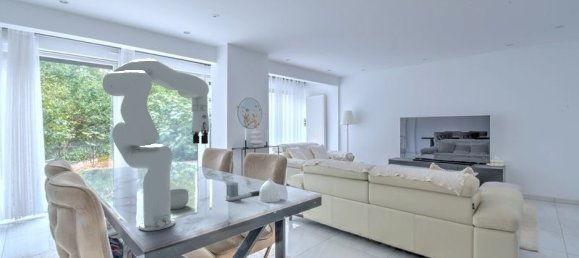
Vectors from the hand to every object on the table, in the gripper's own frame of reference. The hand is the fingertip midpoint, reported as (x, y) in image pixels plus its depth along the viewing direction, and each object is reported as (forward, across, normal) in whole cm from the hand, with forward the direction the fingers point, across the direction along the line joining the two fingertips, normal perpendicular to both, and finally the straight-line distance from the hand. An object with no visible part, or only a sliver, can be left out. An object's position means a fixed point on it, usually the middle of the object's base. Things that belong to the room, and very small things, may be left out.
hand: (200, 143), depth 139 cm
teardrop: (+31, -17, -30) cm, 46 cm away
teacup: (+31, +4, +12) cm, 33 cm away
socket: (+28, -3, -16) cm, 33 cm away
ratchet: (+30, -3, -24) cm, 39 cm away
